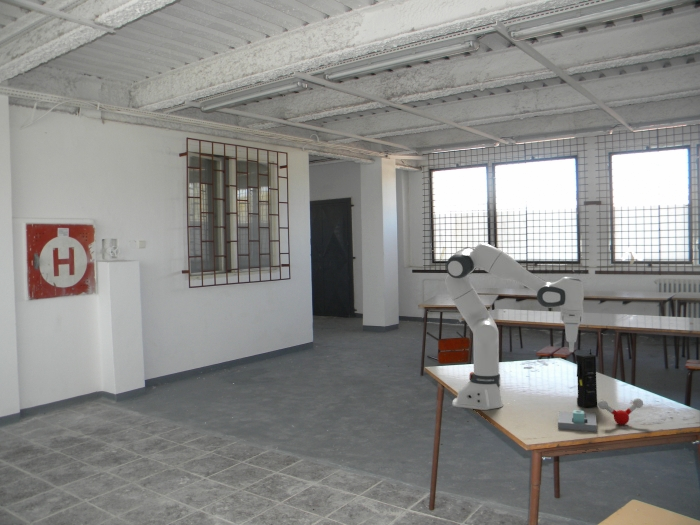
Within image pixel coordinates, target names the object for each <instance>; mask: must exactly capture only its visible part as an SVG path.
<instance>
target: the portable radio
mask: <svg viewBox="0 0 700 525" xmlns="http://www.w3.org/2000/svg"><path fill="white" fill-rule="evenodd" d="M575 361H576V363H577V364H576V377H577V397H576V405H577V406H579V407H581V408H584V409H588V408H596V407H598V390H597V389H598V388H597V358H596V355H595V354H592V348H589V353H582V354H576V355H575Z"/></svg>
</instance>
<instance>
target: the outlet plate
mask: <svg viewBox="0 0 700 525" xmlns="http://www.w3.org/2000/svg"><path fill="white" fill-rule="evenodd" d="M557 417H558V420H557V429H559V430H570V431H580V430H581V431H582V432H595V433H598V423H597V417H596V413H592V412H584V423H576V422H573V411H562V410H560V411H558V416H557Z"/></svg>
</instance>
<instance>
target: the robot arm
mask: <svg viewBox="0 0 700 525" xmlns="http://www.w3.org/2000/svg"><path fill="white" fill-rule="evenodd" d="M477 268H478V269H482V270H483V271H485V272H486V273H488V274H489V275H491V276H493V277H495V278H496V279H499V280H503V281H508V282H510V281H511V282H515V283H519V284H520V285H523V286H525V287H526V288H528V289H529V290H531V291H533V292H535V294H536V299H537V302H538V303H539V304H540V306H542V307H544V308H548V309H549V308H550V309H551V308H556V307H560V321H562V322H563V325H564V330H565V339H566V343H567V342H568V352H569V353H573V352H574V349H575V343H576V342H577V339H578V332H579V326H580V325H581V323H582V322H584V306H583V305H584V304H583V303H584V299H585V298H584V297H585V296H584V293H585V292H584V291H585V290H584V283H583V282H582V280H580V279H579V278H577V277H574V276H573V277H572V276H563V277H561V279H559V280H557V281H547V280H545V279H543V278H541V277H539V276H537V275H536V274H534V273H532V272H531V271H530V270H527V269H526V268H524V267H523V266H522V265H521V264H520V263H519V262H517V260H515V259H514V258H513V257H512V256H510V255H509V254H507V253H506V252H505V251H503V250H501V249H499V248H497V247H495V246H493V245H491V244H488V243H485V242H483V243H480V244H477V245H476V246H475V247H470V246H469V247H467V246H466V247H464V248H461V249H459V250H457V251H456V252H455V253H454V254H453V255H451V256H450V257H449V258H448V259H447V261H446V263H445V271H446V272H447V275H446V277H445V278H444V285H445V287H446V290H447V293H448V294H449V297H450V298H451V299H452V301H453V303H454V305H455V307H456V308H457V310H458V312H459V313H460V315H461V316H462V318H463V319H464V321H465V323H466V324H467V325H468V327H469V329H470V330H471V332H472V340H473V348H472V349H473V371H471V372H470V373H469V376H468V377H469V381H468V382H467V383H465V384H464V385H463V386H462V387H460V388H459V389H458V392H457V397H455V398H453V400H452V404H451V405H452V406H453V407H457V408H466V409H472V410H473V409H474V410H481V411H487V410H492V409H493V410H494V409H498V408H501V407H503V406H504V403H503V399H502V395H501V389H500V388H501V374H500V373H499V370H500V368H499V363H500V362H499V360H500V359H499V355H500V354H499V352H500V351H499V350H500V347H499V346H500V345H499V342H500V341H499V337H500V336H499V334H500V332H499V328H498V326H497V324H496V321H495V320H494V318H493V316H492V315H491V313H490V312H489V310H488V309H487V307H486V306H485V304H484V302H483V300H482V299H481V297H480V295H479V294H478V292H477V291H476V289H475V288H474V286H473V284H472V282H471V281H470V280H471V279H470V275H472V274H473V273H474V271H475V270H477Z"/></svg>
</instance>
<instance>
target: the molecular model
mask: <svg viewBox="0 0 700 525" xmlns="http://www.w3.org/2000/svg"><path fill="white" fill-rule="evenodd" d="M643 406H644V402H643V400H642V399H641V398H635V399H633V401H632V404H631V405H630V406H629V407H628V408H627V409H626V410H615V409H614V408H612V406H610V405H609V402H607V401H606V400H605V399H600V400H599V401H597V407H598V408H599V409H600V410H607V412H608V413H610V414H612V415H613V420H614V421H615V423H616V424H617V425H621V426H624V425H627V424H628V423H629V421H630V414H632V412H633V411H635V410H636V409H639V408H640V409H641V408H642V407H643Z"/></svg>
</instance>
